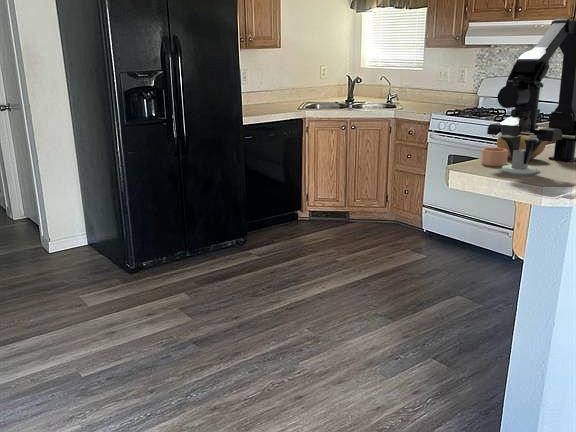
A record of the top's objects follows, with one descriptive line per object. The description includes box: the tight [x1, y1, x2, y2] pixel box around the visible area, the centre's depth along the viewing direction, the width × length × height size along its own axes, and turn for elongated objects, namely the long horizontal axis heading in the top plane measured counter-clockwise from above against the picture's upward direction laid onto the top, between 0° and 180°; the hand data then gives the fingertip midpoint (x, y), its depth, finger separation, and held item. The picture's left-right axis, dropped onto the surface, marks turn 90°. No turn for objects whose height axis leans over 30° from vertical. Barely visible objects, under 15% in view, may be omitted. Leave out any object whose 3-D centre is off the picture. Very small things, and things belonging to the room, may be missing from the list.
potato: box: [496, 134, 546, 160], centre depth 169 cm, size 10×14×8 cm
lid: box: [501, 149, 538, 175], centre depth 152 cm, size 9×9×6 cm
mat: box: [497, 167, 542, 176], centre depth 153 cm, size 11×11×1 cm
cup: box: [479, 146, 509, 167], centre depth 163 cm, size 7×7×4 cm
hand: (519, 163), depth 152 cm, fingers closed on lid, 3 cm apart
